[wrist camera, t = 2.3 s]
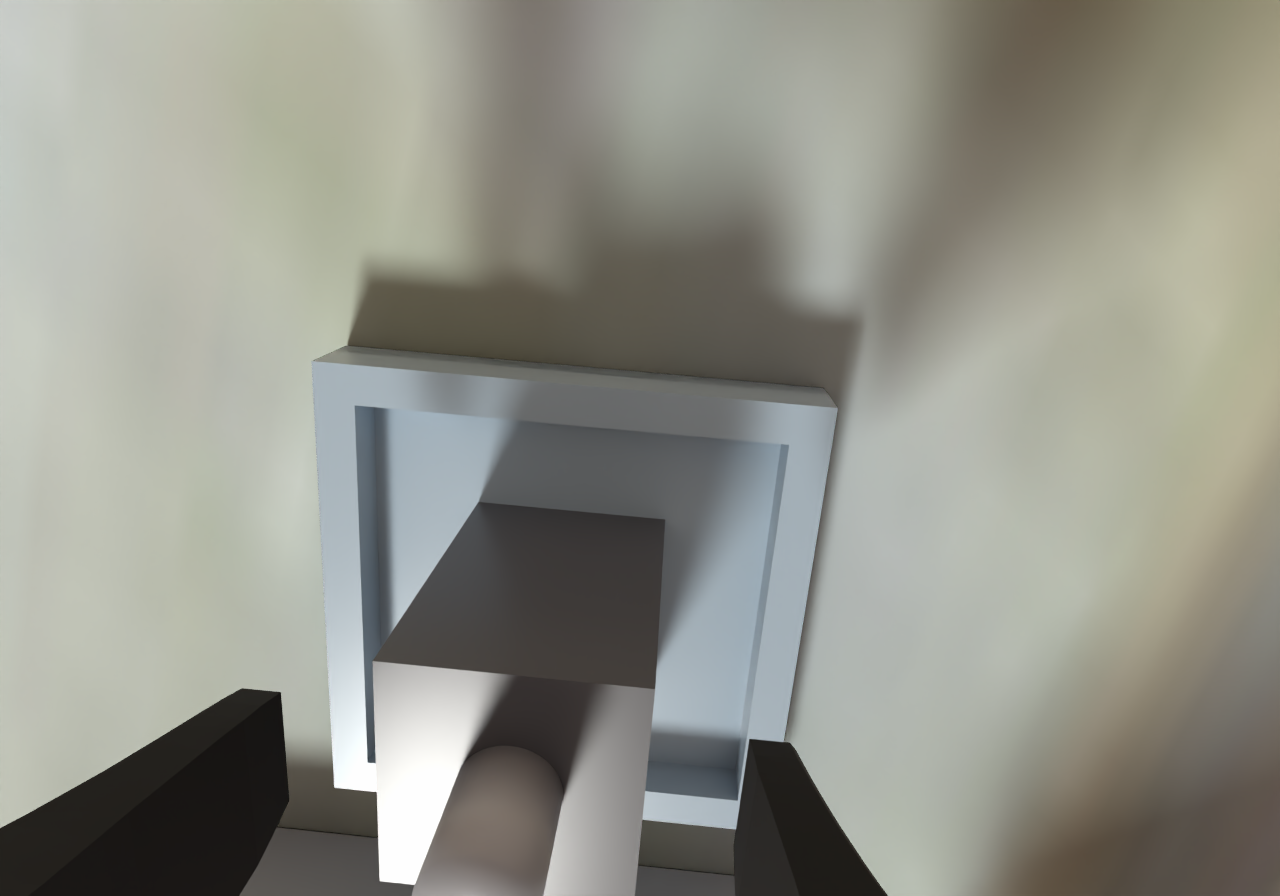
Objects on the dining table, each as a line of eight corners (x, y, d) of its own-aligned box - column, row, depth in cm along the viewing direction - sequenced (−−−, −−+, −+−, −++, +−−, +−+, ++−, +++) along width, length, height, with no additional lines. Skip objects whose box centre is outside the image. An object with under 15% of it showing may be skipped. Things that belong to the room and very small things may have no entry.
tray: (823, 387, 16) (837, 407, 15) (762, 782, 19) (768, 832, 18) (345, 345, 16) (311, 361, 15) (361, 741, 20) (333, 787, 18)
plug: (665, 519, 17) (648, 793, 9) (650, 680, 18) (624, 1040, 10) (478, 501, 17) (307, 758, 9) (476, 663, 18) (324, 1006, 10)
